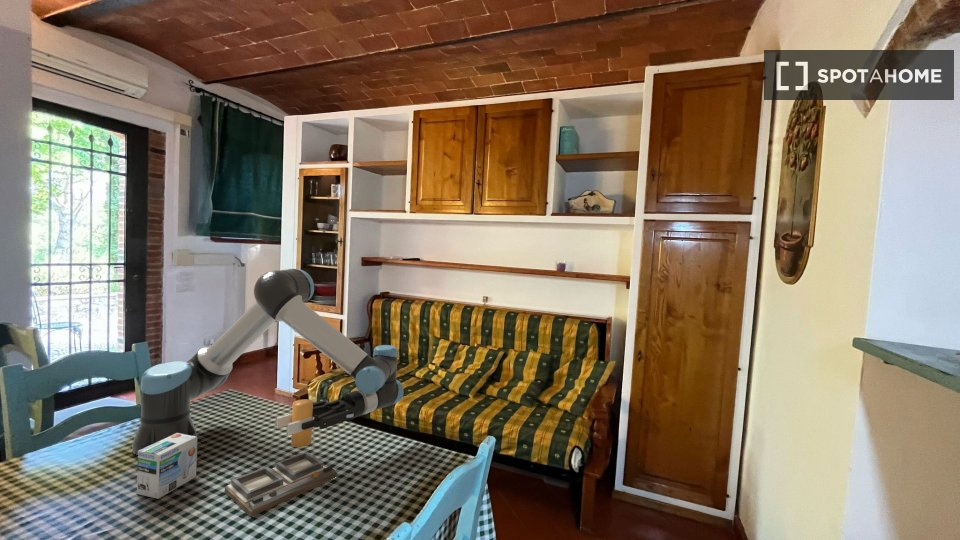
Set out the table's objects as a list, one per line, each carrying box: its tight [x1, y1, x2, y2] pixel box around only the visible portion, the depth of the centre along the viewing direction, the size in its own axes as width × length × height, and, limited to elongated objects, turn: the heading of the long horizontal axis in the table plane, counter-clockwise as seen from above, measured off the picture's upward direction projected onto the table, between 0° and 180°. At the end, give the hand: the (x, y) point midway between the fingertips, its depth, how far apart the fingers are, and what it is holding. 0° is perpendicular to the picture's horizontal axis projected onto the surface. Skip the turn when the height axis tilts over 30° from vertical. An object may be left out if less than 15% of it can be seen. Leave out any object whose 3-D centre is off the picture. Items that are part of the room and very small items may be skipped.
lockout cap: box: [290, 398, 314, 448], centre depth 111 cm, size 5×5×11 cm
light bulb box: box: [136, 433, 198, 500], centre depth 103 cm, size 11×7×11 cm, turn 168°
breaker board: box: [224, 451, 338, 517], centre depth 106 cm, size 14×22×3 cm, turn 142°
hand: (282, 426), depth 107 cm, fingers closed on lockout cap, 5 cm apart
